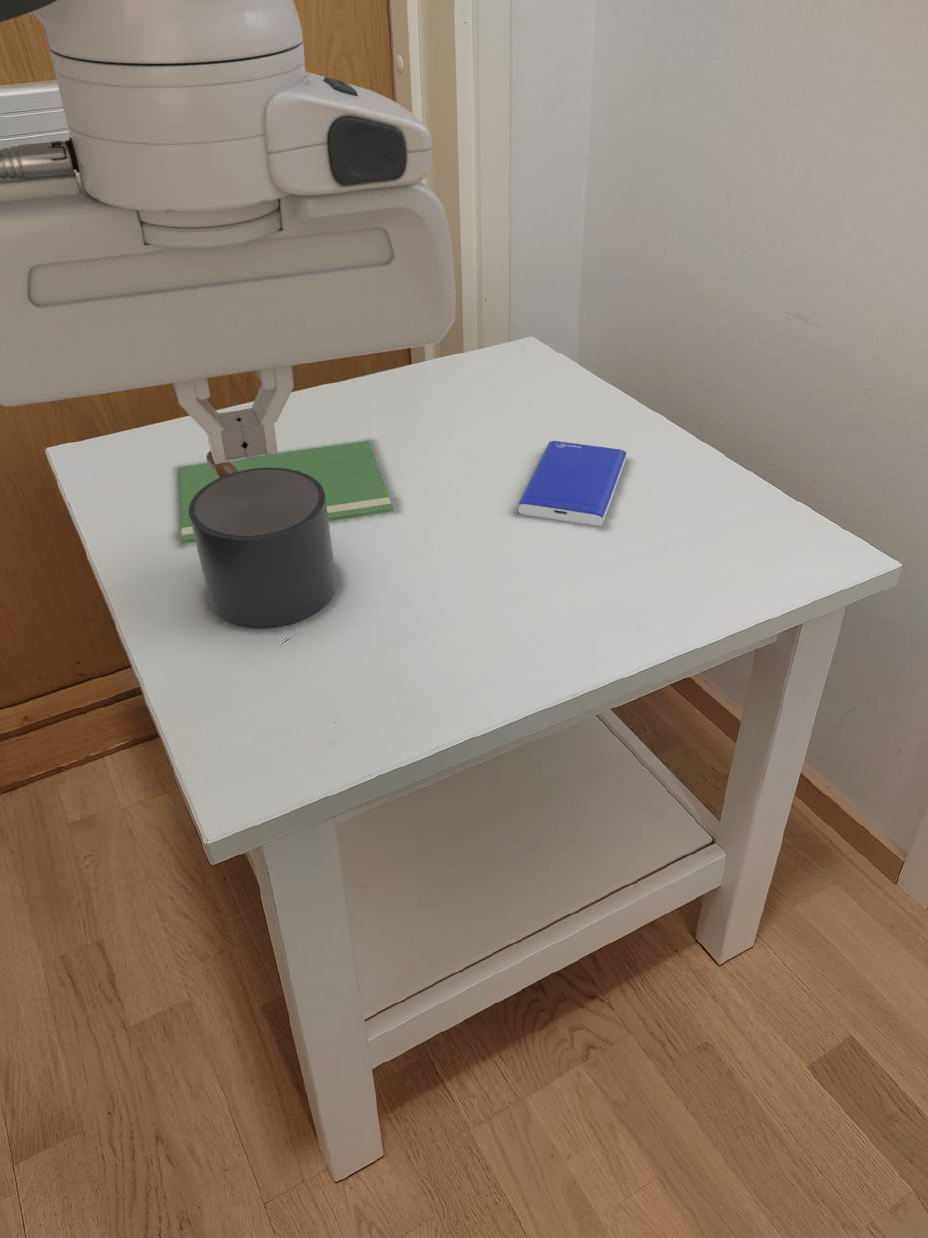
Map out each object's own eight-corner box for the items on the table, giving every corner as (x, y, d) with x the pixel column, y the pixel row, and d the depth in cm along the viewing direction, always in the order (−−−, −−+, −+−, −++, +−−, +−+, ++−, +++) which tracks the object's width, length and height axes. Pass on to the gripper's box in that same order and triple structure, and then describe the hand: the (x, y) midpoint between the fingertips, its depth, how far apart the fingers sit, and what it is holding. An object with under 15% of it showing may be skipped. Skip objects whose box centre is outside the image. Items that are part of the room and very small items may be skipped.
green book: (182, 543, 89) (181, 539, 89) (179, 470, 100) (179, 466, 99) (393, 511, 93) (392, 507, 92) (368, 443, 103) (368, 439, 103)
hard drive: (549, 439, 100) (518, 500, 91) (626, 449, 98) (603, 513, 89) (548, 452, 101) (518, 514, 92) (625, 463, 99) (602, 527, 90)
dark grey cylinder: (357, 601, 82) (347, 511, 76) (236, 646, 78) (215, 555, 72) (281, 511, 93) (268, 427, 87) (172, 546, 89) (149, 461, 83)
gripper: (-118, 178, 31) (8, 532, 40) (471, 129, 37) (467, 448, 45) (-104, 133, 35) (7, 459, 44) (418, 95, 41) (424, 391, 50)
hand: (244, 453), depth 45 cm, fingers closed
